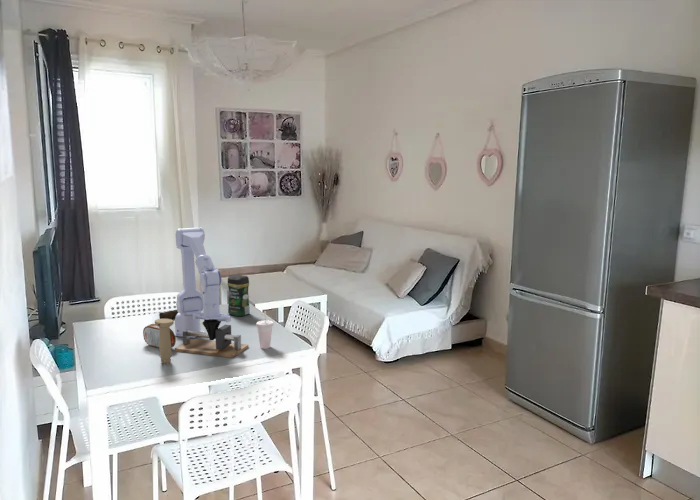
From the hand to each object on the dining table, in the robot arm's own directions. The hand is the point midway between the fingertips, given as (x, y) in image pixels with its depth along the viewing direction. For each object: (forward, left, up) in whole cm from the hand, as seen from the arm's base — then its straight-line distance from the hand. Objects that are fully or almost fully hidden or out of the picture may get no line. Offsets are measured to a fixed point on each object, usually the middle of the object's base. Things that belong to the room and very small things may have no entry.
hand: (212, 339), depth 197 cm
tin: (-22, -1, -5) cm, 23 cm away
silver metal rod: (-2, +3, -5) cm, 6 cm away
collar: (+3, +3, -3) cm, 5 cm away
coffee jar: (-15, +49, -5) cm, 51 cm away
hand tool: (-39, +38, -5) cm, 55 cm away
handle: (-10, -14, -5) cm, 18 cm away
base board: (-2, +3, -5) cm, 6 cm away
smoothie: (+16, +11, -5) cm, 20 cm away
